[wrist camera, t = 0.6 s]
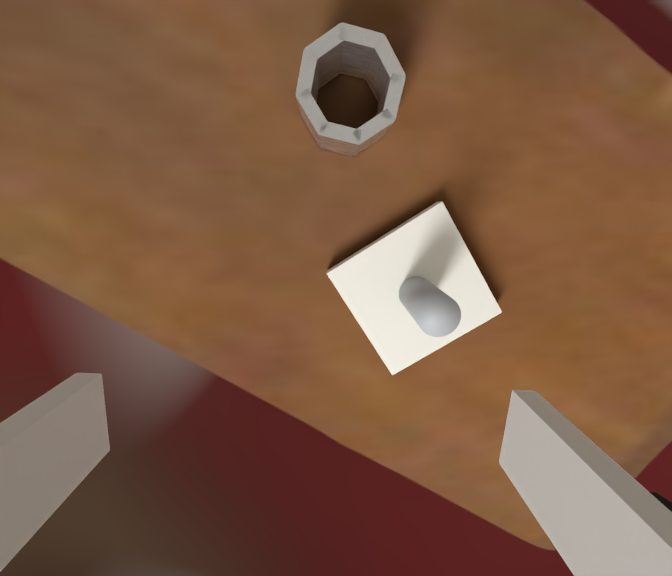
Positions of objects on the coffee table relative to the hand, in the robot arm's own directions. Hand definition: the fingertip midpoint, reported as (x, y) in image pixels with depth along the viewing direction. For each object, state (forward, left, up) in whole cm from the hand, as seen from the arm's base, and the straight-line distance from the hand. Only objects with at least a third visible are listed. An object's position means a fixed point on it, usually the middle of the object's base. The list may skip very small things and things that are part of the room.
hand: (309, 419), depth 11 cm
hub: (-11, +10, -23) cm, 27 cm away
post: (+6, +7, -23) cm, 24 cm away
